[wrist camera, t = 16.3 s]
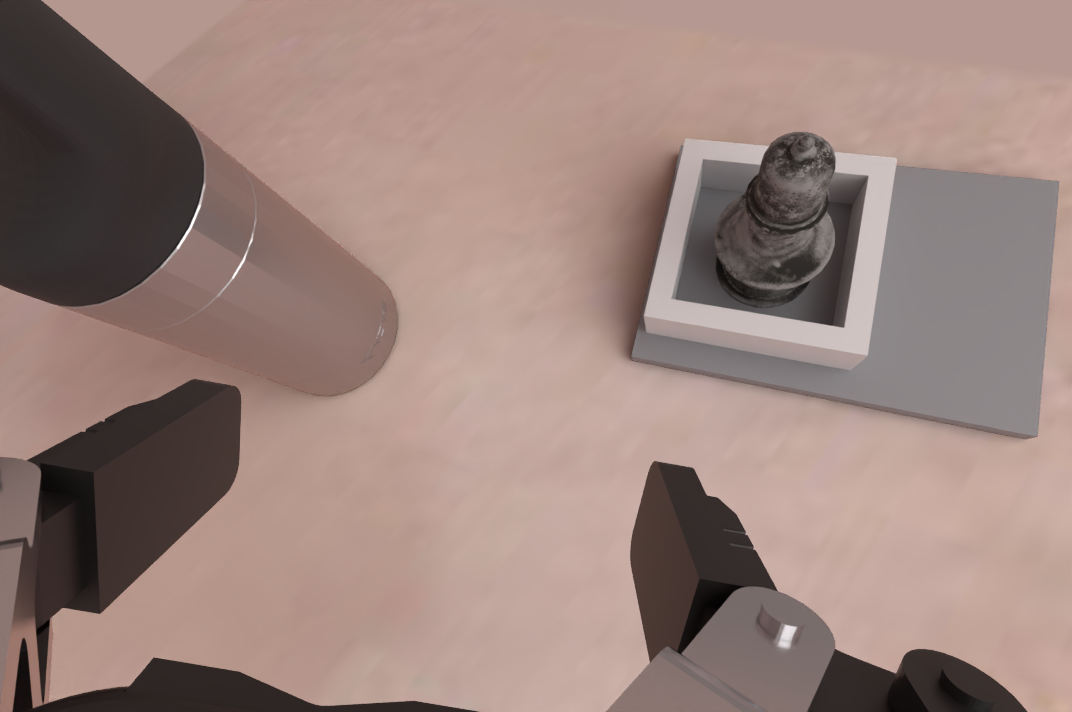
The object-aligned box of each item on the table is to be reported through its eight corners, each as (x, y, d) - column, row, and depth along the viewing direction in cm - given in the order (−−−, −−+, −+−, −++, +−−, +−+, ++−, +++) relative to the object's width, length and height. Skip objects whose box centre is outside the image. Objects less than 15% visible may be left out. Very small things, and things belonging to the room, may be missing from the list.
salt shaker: (738, 203, 35) (768, 54, 24) (837, 241, 33) (920, 98, 22) (692, 287, 34) (700, 173, 23) (790, 330, 33) (851, 229, 21)
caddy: (632, 360, 35) (627, 341, 31) (680, 154, 38) (681, 114, 34) (1025, 439, 30) (1077, 427, 26) (1048, 191, 32) (1097, 147, 29)
